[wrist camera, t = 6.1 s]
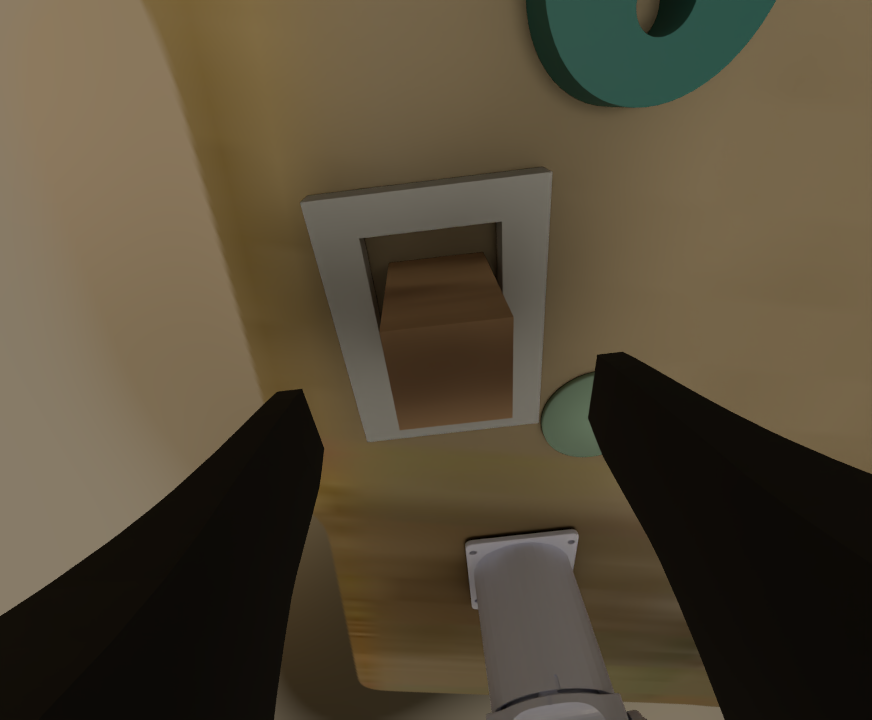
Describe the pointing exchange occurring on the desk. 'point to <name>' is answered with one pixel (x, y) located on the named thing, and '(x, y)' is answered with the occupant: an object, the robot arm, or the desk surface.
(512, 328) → the walnut block
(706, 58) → the bracket
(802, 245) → the desk surface
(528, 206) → the slot board
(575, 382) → the green pad
